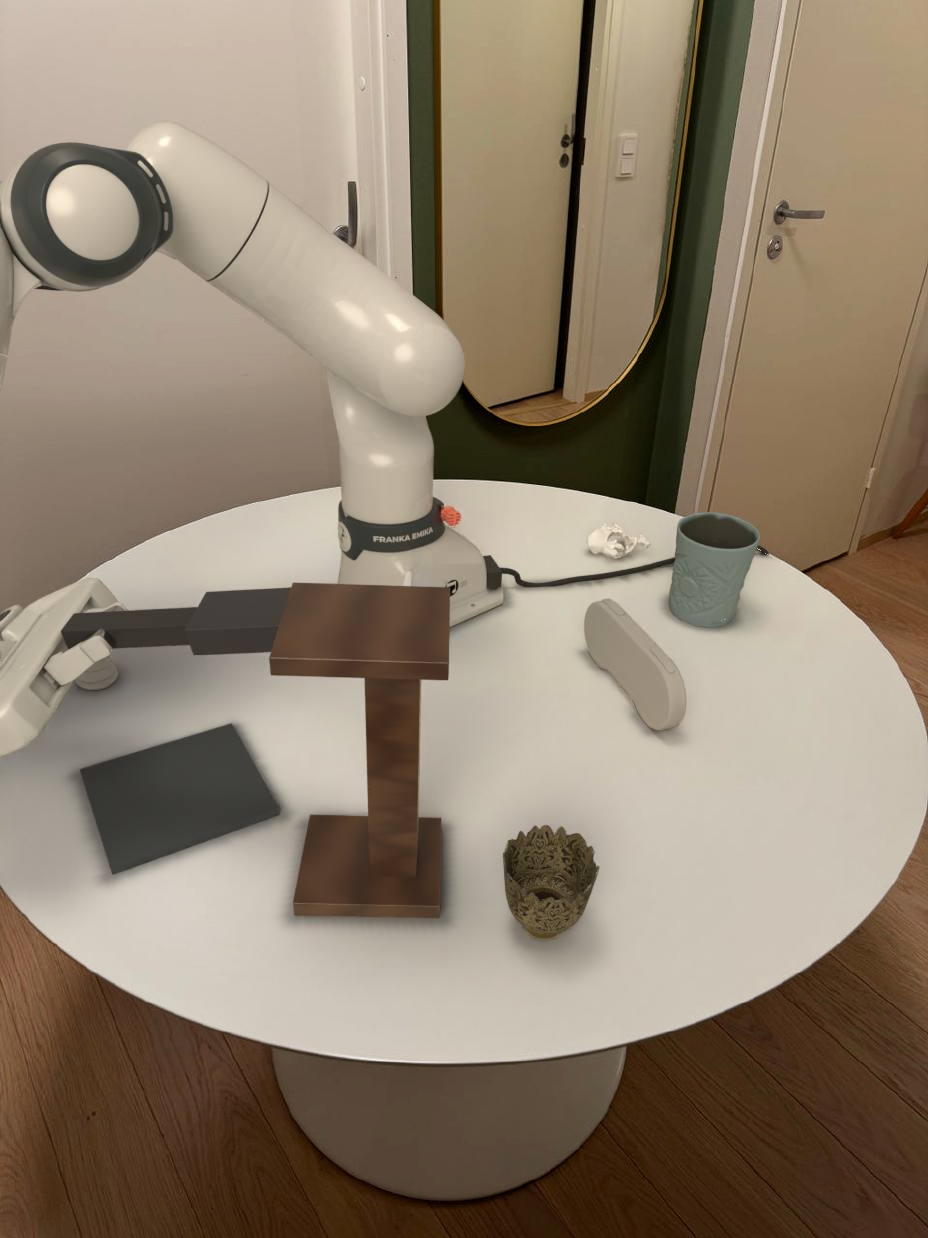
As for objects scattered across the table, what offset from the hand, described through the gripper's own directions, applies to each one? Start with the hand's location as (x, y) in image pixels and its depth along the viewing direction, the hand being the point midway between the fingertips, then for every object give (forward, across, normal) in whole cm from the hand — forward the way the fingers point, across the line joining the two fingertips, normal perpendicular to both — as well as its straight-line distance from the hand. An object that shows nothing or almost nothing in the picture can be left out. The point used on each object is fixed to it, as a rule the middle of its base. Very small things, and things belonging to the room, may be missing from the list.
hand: (116, 626), depth 71 cm
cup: (+21, -13, +35) cm, 43 cm away
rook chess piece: (-20, +19, +12) cm, 30 cm away
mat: (-8, +2, +18) cm, 20 cm away
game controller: (+31, +20, +41) cm, 56 cm away
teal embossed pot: (+42, +38, +48) cm, 74 cm away
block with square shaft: (+5, 0, +4) cm, 6 cm away
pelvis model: (+35, +53, +43) cm, 77 cm away
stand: (+8, -7, +28) cm, 30 cm away
